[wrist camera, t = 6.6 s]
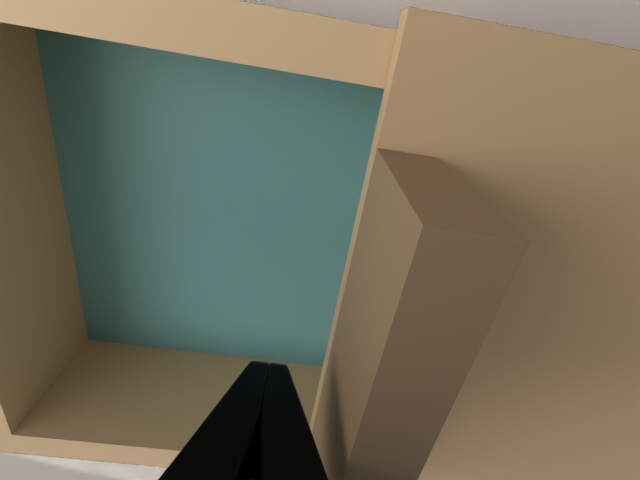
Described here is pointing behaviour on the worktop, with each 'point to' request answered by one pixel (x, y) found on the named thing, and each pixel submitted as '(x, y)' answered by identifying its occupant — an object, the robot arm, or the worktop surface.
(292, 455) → the robot arm
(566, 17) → the worktop surface
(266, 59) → the mailer box
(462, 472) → the lid
